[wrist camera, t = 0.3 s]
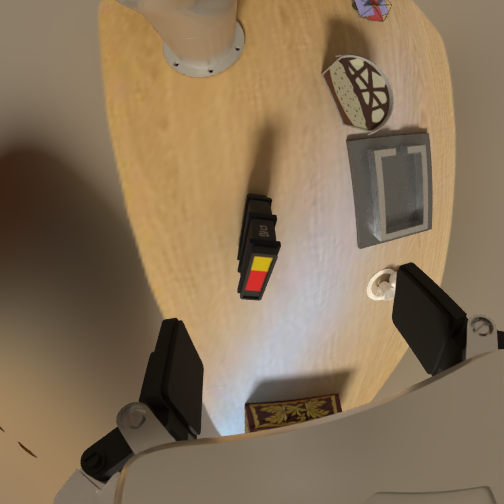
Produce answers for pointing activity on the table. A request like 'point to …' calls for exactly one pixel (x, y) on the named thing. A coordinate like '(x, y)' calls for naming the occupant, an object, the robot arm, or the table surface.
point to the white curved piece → (383, 286)
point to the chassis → (391, 186)
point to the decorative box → (289, 412)
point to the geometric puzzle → (372, 9)
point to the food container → (359, 92)
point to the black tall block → (257, 247)
